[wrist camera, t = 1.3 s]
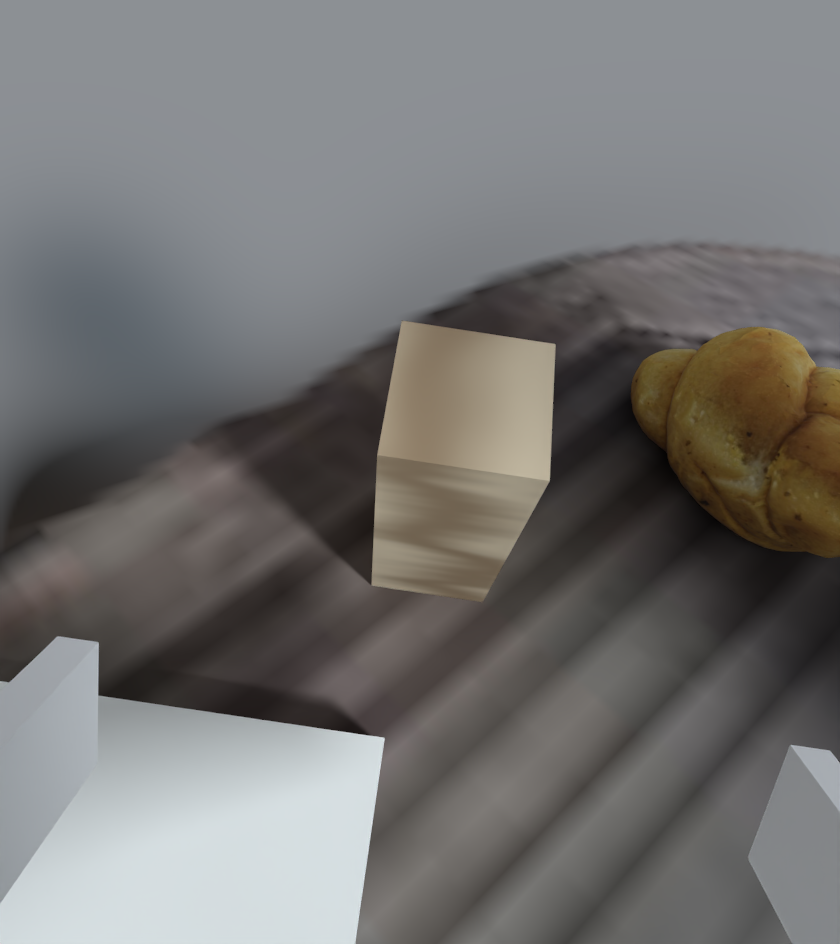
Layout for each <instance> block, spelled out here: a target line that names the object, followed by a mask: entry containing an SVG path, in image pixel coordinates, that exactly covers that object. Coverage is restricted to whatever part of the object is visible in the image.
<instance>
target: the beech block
mask: <svg viewBox="0 0 840 944" xmlns="http://www.w3.org/2000/svg"><path fill="white" fill-rule="evenodd" d="M555 345H556V344H551V343H545V342H538V341H532V340H525V339H519V338H512V337H506V336H499V335H493V334H486V333H480V332H473V331H467V330H460V329H454V328H447V327H441V326H434V325H428V324H421V323H415V322H408V321H402V323H401V328H400V333H399V339H398V344H397V350H396V355H395V361H394V366H393V372H392V377H391V383H390V388H389V394H388V399H387V404H386V410H385V415H384V421H383V426H382V432H381V437H380V443H379V448H378V454H377V472H376V494H375V517H374V539H373V562H372V584H371V585H372V586H378V587H385V588H392V589H398V590H405V591H412V592H418V593H425V594H432V595H438V596H445V597H452V598H458V599H465V600H472V601H478V602H483V600H484V599H485V597H486V595H487V593H488V591H489V590H490V588H491V586H492V584H493V582H494V581H495V579H496V577H497V575H498V573H499V572H500V570H501V568H502V566H503V564H504V563H505V561H506V559H507V557H508V555H509V554H510V552H511V550H512V548H513V546H514V545H515V543H516V541H517V539H518V537H519V536H520V534H521V532H522V530H523V528H524V527H525V525H526V523H527V521H528V519H529V518H530V516H531V514H532V512H533V510H534V509H535V507H536V505H537V503H538V501H539V499H540V498H541V496H542V494H543V492H544V490H545V489H546V487H547V485H548V483H549V481H550V463H551V440H552V416H553V393H554V369H555Z"/></svg>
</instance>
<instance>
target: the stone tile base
mask: <svg viewBox="0 0 840 944" xmlns="http://www.w3.org/2000/svg"><path fill="white" fill-rule="evenodd" d="M8 683H9V682H3V681H0V691H1V690H2V689H3V688H4V687H5V686H6V685H7V684H8ZM384 739H385V738H382V737H375V736H368V735H361V734H355V733H348V732H341V731H334V730H328V729H321V728H314V727H307V726H301V725H294V724H287V723H280V722H273V721H267V720H260V719H253V718H246V717H240V716H233V715H226V714H219V713H213V712H206V711H199V710H192V709H186V708H179V707H172V706H165V705H158V704H152V703H145V702H138V701H131V700H125V699H118V698H111V697H104V696H98V753H97V765H96V766H95V768H94V769H93V771H92V772H91V773H90V775H89V776H88V778H87V779H86V781H85V782H84V784H83V785H82V786H81V788H80V789H79V791H78V792H77V794H76V795H75V797H74V798H73V799H72V801H71V802H70V804H69V805H68V807H67V808H66V809H65V811H64V812H63V814H62V815H61V817H60V818H59V820H58V821H57V822H56V824H55V825H54V827H53V828H52V830H51V831H50V832H49V834H48V835H47V837H46V838H45V840H44V841H43V843H42V844H41V845H40V847H39V848H38V850H37V851H36V853H35V854H34V856H33V857H32V858H31V860H30V861H29V863H28V864H27V866H26V867H25V868H24V870H23V871H22V873H21V874H20V876H19V877H18V879H17V880H16V881H15V883H14V884H13V886H12V887H11V889H10V890H9V892H8V893H7V894H6V896H5V897H4V899H3V900H2V902H1V903H0V944H355V940H356V933H357V926H358V919H359V912H360V905H361V898H362V891H363V885H364V878H365V871H366V864H367V857H368V850H369V843H370V836H371V829H372V822H373V815H374V808H375V801H376V794H377V787H378V780H379V774H380V767H381V760H382V753H383V746H384Z"/></svg>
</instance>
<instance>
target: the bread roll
mask: <svg viewBox="0 0 840 944" xmlns="http://www.w3.org/2000/svg"><path fill="white" fill-rule="evenodd" d="M631 402H632V410H633V413H634V415H635V418H636V420H637V422H638V424H639V426H640V427H641V429H642V431H643V432H644V433H645V434H646V435H647V437H648V438H649V439H650V440H652V441H653V442H654V443H656V444H657V445H658V446H659V447H660V448H661V449H663V450H664V451H665V452H667V456H668V461H669V464H670V467H671V468H672V470H673V471H674V472H675V473H676V475H677V476H678V479H679V481H680V483H681V484H682V486H683V487H684V488H685V489H686V490H687V491H688V492H689V493H690V494H691V495H692V497H693V498H694V499H695V500H696V502H697V503H698V504H699V505H700V506H701V507H702V508H704V509H705V510H706V511H707V512H708V513H709V514H710V515H712V516H713V517H714V518H715V519H716V520H718V521H719V522H720V523H721V524H722V525H724V526H725V527H727V528H728V529H730V530H731V531H733V532H734V533H736V534H737V535H739V536H741V537H742V538H744V539H746V540H748V541H750V542H752V543H755V544H757V545H759V546H761V547H765V548H768V549H773V550H777V551H790V552H809V553H812V554H815V555H819V556H821V557H825V558H833V557H840V370H839V369H834V368H829V367H816V365H815V362H814V361H813V360H811V358H810V356H809V355H808V353H807V351H806V350H805V348H804V346H803V345H802V344H801V343H800V342H798V340H797V339H796V338H795V337H793V336H791V335H788V334H786V333H784V332H782V331H779V330H776V329H768V328H764V327H748V328H741V329H737V330H733V331H729V332H725V333H722V334H720V335H718V336H716V337H714V338H713V339H711V340H710V341H709V342H707V343H705V344H703V345H702V346H701V347H700V348H699V350H698V351H696V350H694V349H669V350H663V351H660V352H657V353H655V354H653V355H651V356H649V357H648V358H646V359H645V360H643V361H642V363H641V365H640V366H639V368H638V369H637V371H636V373H635V375H634V377H633V380H632V385H631Z"/></svg>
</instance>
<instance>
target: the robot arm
mask: <svg viewBox="0 0 840 944" xmlns="http://www.w3.org/2000/svg"><path fill="white" fill-rule="evenodd" d="M98 663H99V642H94V641H87V640H80V639H73V638H67V637H60V636H57V637H56V638H55V639H54V640H53V641H52V642H51V643H50V644H49V645H48V646H47V647H46V648H45V649H44V650H43V651H42V652H41V653H40V654H39V655H38V656H36V657H35V658H34V659H33V660H32V661H31V662H30V663H29V664H28V665H27V666H26V667H25V668H24V669H23V670H22V671H21V672H20V673H19V674H18V675H17V676H16V677H15V678H14V679H12V680H11V681H10V682H9V683H8V684H7V685H6V686H5V687H4V688H3V689H2V690H1V691H0V903H1V902H2V900H3V899H4V897H5V896H6V894H7V893H8V892H9V890H10V889H11V887H12V886H13V884H14V883H15V881H16V880H17V879H18V877H19V876H20V874H21V873H22V871H23V870H24V868H25V867H26V866H27V864H28V863H29V861H30V860H31V858H32V857H33V856H34V854H35V853H36V851H37V850H38V848H39V847H40V845H41V844H42V843H43V841H44V840H45V838H46V837H47V835H48V834H49V832H50V831H51V830H52V828H53V827H54V825H55V824H56V822H57V821H58V820H59V818H60V817H61V815H62V814H63V812H64V811H65V809H66V808H67V807H68V805H69V804H70V802H71V801H72V799H73V798H74V797H75V795H76V794H77V792H78V791H79V789H80V788H81V786H82V785H83V784H84V782H85V781H86V779H87V778H88V776H89V775H90V773H91V772H92V771H93V769H94V768H95V766H96V765H97V753H98ZM748 860H749V862H750V864H751V866H752V868H753V869H754V871H755V873H756V875H757V877H758V879H759V881H760V883H761V885H762V887H763V889H764V891H765V892H766V894H767V896H768V898H769V900H770V902H771V904H772V906H773V908H774V910H775V912H776V914H777V915H778V917H779V919H780V921H781V923H782V925H783V927H784V929H785V931H786V933H787V935H788V937H789V938H790V940H791V942H792V944H840V763H839V761H838V760H837V759H836V758H835V756H834V755H833V754H832V753H831V751H829V750H822V749H816V748H809V747H802V746H795V745H790V746H789V749H788V752H787V754H786V757H785V760H784V762H783V765H782V768H781V770H780V773H779V776H778V778H777V781H776V784H775V786H774V789H773V792H772V794H771V797H770V800H769V802H768V805H767V808H766V810H765V813H764V816H763V818H762V821H761V824H760V826H759V829H758V832H757V834H756V837H755V840H754V842H753V845H752V848H751V850H750V853H749V856H748Z"/></svg>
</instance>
